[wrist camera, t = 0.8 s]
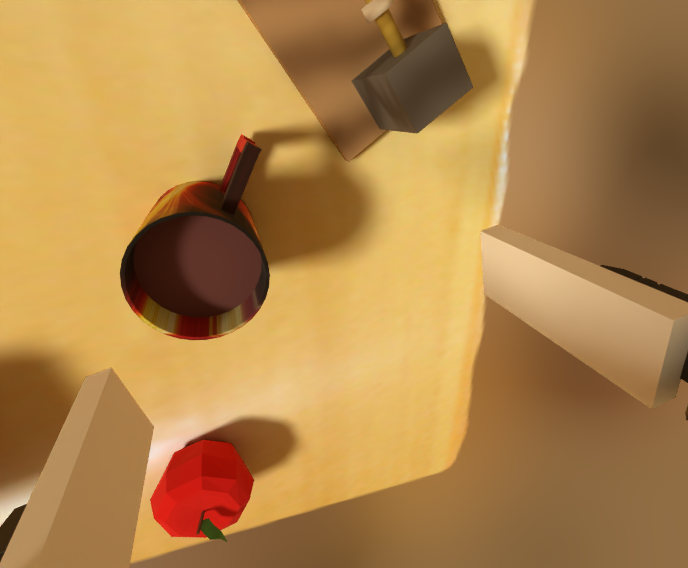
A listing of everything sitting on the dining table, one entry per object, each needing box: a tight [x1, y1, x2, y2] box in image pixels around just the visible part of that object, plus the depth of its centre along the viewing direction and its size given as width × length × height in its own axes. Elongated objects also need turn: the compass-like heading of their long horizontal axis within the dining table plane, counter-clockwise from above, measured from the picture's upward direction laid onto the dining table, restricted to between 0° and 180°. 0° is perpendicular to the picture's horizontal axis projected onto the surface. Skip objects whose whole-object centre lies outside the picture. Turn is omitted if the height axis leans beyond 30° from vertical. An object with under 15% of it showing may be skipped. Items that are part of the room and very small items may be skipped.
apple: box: [150, 440, 254, 541], centre depth 43 cm, size 11×11×10 cm
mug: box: [120, 134, 270, 340], centre depth 30 cm, size 10×14×12 cm
